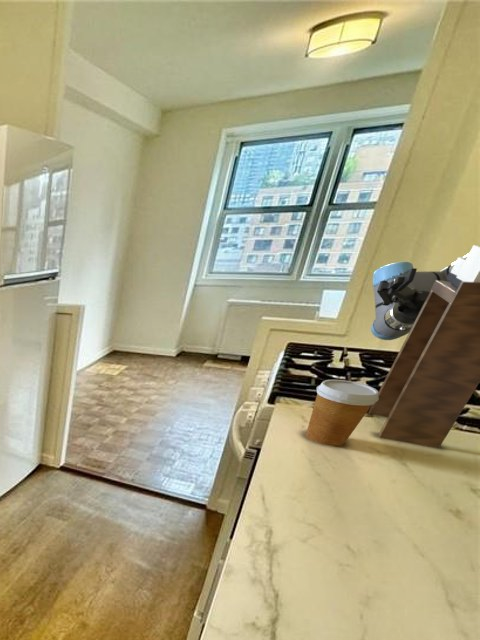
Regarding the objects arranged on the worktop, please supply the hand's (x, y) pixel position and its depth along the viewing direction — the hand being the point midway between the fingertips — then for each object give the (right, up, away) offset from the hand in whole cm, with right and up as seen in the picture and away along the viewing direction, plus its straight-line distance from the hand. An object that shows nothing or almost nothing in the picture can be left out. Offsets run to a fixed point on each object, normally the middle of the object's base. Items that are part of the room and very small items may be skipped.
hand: (456, 276), depth 103 cm
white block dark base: (-7, -5, -9) cm, 13 cm away
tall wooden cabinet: (-9, -33, +3) cm, 34 cm away
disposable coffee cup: (-29, -35, 0) cm, 45 cm away
